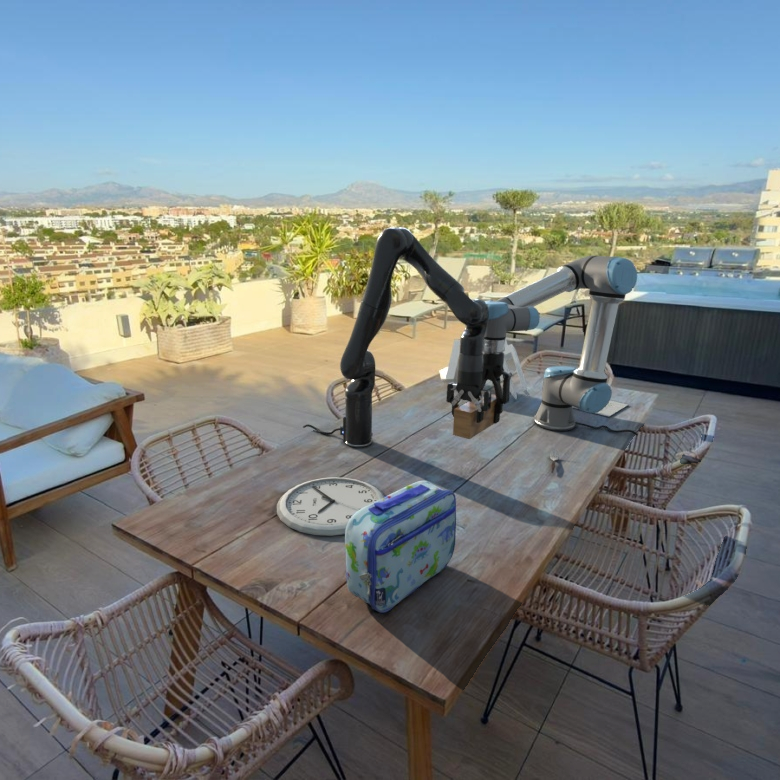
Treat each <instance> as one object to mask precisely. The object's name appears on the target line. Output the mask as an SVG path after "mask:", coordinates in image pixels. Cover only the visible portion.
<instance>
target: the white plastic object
mask: <svg viewBox="0 0 780 780" xmlns="http://www.w3.org/2000/svg"><path fill="white" fill-rule="evenodd" d="M459 350H460V339H458V338H454V340H453V344H452V349H451V353H450V357H449V362H448V366H446V367H444V368H442V369H440V370H439V371H438V372H439V376H440V381H442V383H443V384H444V385H445V386H447V385H448V384H450V383H452V382H454V383H455V384H457V370H458V358H459ZM503 353H504V363H503V368H504V371H505V372H507V373H511V371H510V369H509V365H508V361H510V360H513V363H514V366H515V369H516V372H517V376H518V380H519V382H520V385H521V389H522V391H523V393H524V395H525V396H526V397H528V396H531V395H530V390H529V388H528V387H529V386H528V384H527V381H526V378H525V375H524V371H523V369H522V368H523V367H522V366H521V362H520V359H519V355H518V352H517V349H516V347H515V346H514V345H513V343H511V344H508V341H507V338H506V339H505V351H504V352H503ZM516 391H517V390H516V388H515V385H514V381H513V378H512V377H511V379H510V394H511V395H512V397H513V398H514V399H515V400H517V392H516Z"/></svg>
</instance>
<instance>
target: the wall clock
mask: <svg viewBox="0 0 780 780" xmlns="http://www.w3.org/2000/svg"><path fill="white" fill-rule="evenodd" d="M384 497H386V495H385V494H384V493H383V492H382V491H381V490H380V489H379V488H377V487H376V486H374V485H372V484H371V483H369V482H365V481H362V480H359V479H355V478H349V477H338V476H337V477H335V476H333V477H332V476H331V477H322V478H317V479H312V480H307V481H305V482H302V483H299V484H297V485H295V486H293V487H292V488H290V489H288V490H287V491H286V492H285V493H284V494H283V495H281V496H280V498H279V499H278V502H277V503H276V515H277V517H278V518H279V520H280V521H281V522H282V523H283V524H285V525H286V526H287V527H288V528H290V529H293V530H295V531H297V532H299V533H303V534H308V535H312V536H327V537H328V536H329V537H331V536H332V537H333V536H342V535H345V531H346V527H347V524H348V522H349V520H350V518H351V517H352V515H353V514H354V513H355V512H357V511H358V510H360V509H362V508H364V507H366V506H368V505H370V504H372V503H374V502H376V501H378V500H380V499H382V498H384Z"/></svg>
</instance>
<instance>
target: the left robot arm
mask: <svg viewBox="0 0 780 780" xmlns="http://www.w3.org/2000/svg"><path fill="white" fill-rule="evenodd" d="M372 258H373V259H372V264H371V268H370V272H369V275H368V279H367V282H366V286H365V289H364V292H363V295H362V298H361V301H360V305H359V307H358V311H357V315H356V319H355V322H354V325H353V328H352V331H351V334H350V337H349V339H348V342H347V344H346V346H345V349H344V351H343V353H342V356H341V358H340V362H339V369H340V373H341V375H342V376H343V377H344V379H346V380H349V381H350V382H349V384H348V385H347V386H346V387H345V390H344V397H345V398H344V402H345V403H344V404H345V405H344V406H345V407H344V408H345V412H344V414H345V415H344V416H342V425H341V426H340V427H337V428H334V429H332V430H331V431H322V430H320V429H319V428H318V427H315V426H314V425H312V424H309V423H308V424H305V425H303V426H302V428H303V429H305V428H311V429H313V430H315V431H317V432H318V433H319V434H321V435H327V436H328V435H333V434H334V433H336V432H338V431H339V434H340V436H342V443H345V445H346V446H348V447H351V448H365V447H369V446H370V445H372V444H373V437H374V436H373V434H374V433H373V429H372V428H373V391H374V389H375V384H376V359H375V357H374V355H373V353H372V352H371V351H370V350H368V349H369V346H370V344H371V343H372V341H373V340H374V339H375V337H377V335H378V334H379V332H380V330H381V329H382V327H383V326H384V324H385V322H386V320H387V318H388V315H389V312H390V309H391V305H392V300H393V297H392V278H393V276H394V275H393V274H394V272H395V268H396V266H397V263H398V262H399V260H403V261H404V262H406V263H408V264H409V265H410V266H411V267H413V268H414V269H415V270H416V271H417V272H418V273H419V275H420V276H421V278H422V280H423V281H424V283H425V285H426V286H427V287H428V289H429V290H430V291H431V292H432V293H433V294H434V295H435V296H437V298H439V299H440V300H441V301H442V302H443V303H445V305H446V306H447V308H448V309H449V310H450V311H451V313H452V314H453V316H454V317H455V318H456V319H457V320H458V321H459V322H460V323H462V324H463V325H464V330H463V332H462V333H461V334H460V350H459V358H458V370H457V384H455V383H454V382H452V383H450V384H448V385H446V402H447V403H448V404H451V415H452V417H453V418H454V409H455V408H457V407H459V406H460V402H461V401H467V402H469V401H470V402H473V404H474V405H475V406H476V408H477V410H478V411H477V420H476V422H477V423H480V422H481V421H483V419H484V411H487V410H489V409H490V408H491V394H493V393H492V390H491V389H488V390H486V389H482V378H483V368H484V365H483V364H484V358H483V350H484V337H485V333H486V329H487V325H488V320H489V308H488V306H487V304H486V303H485V301H484V300H483V299H480V298H475V299H471V298H470V296H469V295H467V293H465V288H464V286H463V285H462V284H461V283H460V282H459V281H458V280H457V279H456V278H455V277H454V276H452V275H451V274H450V273H449V272H448V271H446V270H445V269H444V268H443V267H442V266H441V265H440V264H439V263H438V262H437V261H436V260H435V259H434V258H433V256H431V255H430V253H429V252H428V251H427V250H426V249H425V247H424V246H423V245H422V244H421V243H420V241H419V240H418V239H417V237H416V236H415V235H414V234H413V233H412V232H411V231H410V230H409V229H407V228H406V227H401V226H400V227H388V228H387V227H386V228H384V230H382V231H381V232H380V234H379V235H378V237H377V239H376V243H375V249H374V253H373V257H372ZM455 390H456V392H457V394H456V396H455ZM480 395H483V397H484V404H483V401H482V399H481V397H480ZM476 399H477V400H476Z"/></svg>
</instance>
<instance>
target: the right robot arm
mask: <svg viewBox="0 0 780 780" xmlns="http://www.w3.org/2000/svg"><path fill="white" fill-rule="evenodd" d="M637 281H638V271H637V267H636V266H635V264H634V262H633V261H632V260H631V259H629V258H627V257H620V256H607V255H605V256H604V255H587V256H583V257H580V258H578V259H575V260H573V261H571V262H568V263H565V264H564V265H562V266H559V267H558V268H557V270H556V271H555V272H554V273H552V274H549V275H547V276H545V277H543V278H541V279H539V280H537V281H534V282H533V283H530V284H528V285H526V286H525V287H523V288H520V289H518V290H516V291H514V292H512V293H510V294H508V295H506V296H504V297H501V298H499V299H497V300H485V301H484V302H485V303H486V304H487V306H488V308H489V320H488V325H487V329H486V333H485V337H484V350H483V358H484V364H483V365H484V368H483V378H482V389H483V390H485V389H484V388H485V387H486V384H487V381H490V382H491V383H492V385H493V389H494V395H496V400H497V403H496V404H495V409H494V422H493V423H494V424H493V425H497V424H498V423H500V420H499V417H501V414H502V413H503V410H504V409H503V408H504V405H506V404H508V403H509V402H510V394H511V392H510V379H511V378H512V376H513V374H512V372H510V373H507V372H505V371H504V368H503V363H504V353H503V352H504V351H505V339H506V340H507V333H511V332H524V331H525V332H528V331H531V330H535V329H536V328H537V327H538V326H539V324H540V320H541V319H540V318H541V316H540V312H539V310H538V309H537V308H536V306H538V305H540V304H542V303H544V302H546V301H548V300H551V299H552V298H555V297H557V296H559V295H560V294H561V295H562V293H565V292H566V293H571V292H574V291H575V290H582V289H583V290H585V289H586V290H589V292H588V297H589V298H590V299H591V304H590V305H591V306H590V311H589V315H588V320H587V325H586V330H585V335H584V340H583V345H582V350H581V355H580V361H579V365H578V367H574V366H566V365H565V366H564V365H559V366H558V365H557V366H550V367H547V368H546V369H545V370H544V375H543V381H542V392H541V402H540V405H539V407H538V410H537V411H536V413H535V415H534V424H535V425H536V426H537V427H539V428H542V429H544V430H549V431H556V432H567V431H572V430H574V429H575V428H576V425H577V426H578V425H579V426H581V427H586V428H588V429H592V430H600V429H602V428H604V429H607V430H608V432H611V433H615V434H621V433H631V434H634V436H639V433H637V432H636V431H635V430H633V429H619V430H615V429H612V428H610V427H609V426H608V425H599V426H593V425H590V424H586V423H582V422H578V421H576V418H575V417H576V416H575V413H574V409H576V408H578V409H577V410H580V411H581V412H586V413H589V414H596V413H597V412H599V411H601V410H602V409H603V408H604V407H606V405H607V404H608V403H609V401H611V399H612V393H613V392H612V388H611V386H610V385H609V384H608V375H607V374H606V372H605V369H606V365H607V360H608V356H609V351H610V347H611V342H612V336H613V332H614V327H615V323H616V318H617V314H618V309H619V305H620V304H621V303H622V302H623V301H625V299H626V296H627V295H628V294H630V293H632V291H633V289H634V288H635V287H636V284H637ZM501 376H502V380H503V381H501ZM501 382H502V385H501ZM481 395H482V394H481ZM481 395H480V396H481ZM574 407H575V408H574Z"/></svg>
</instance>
